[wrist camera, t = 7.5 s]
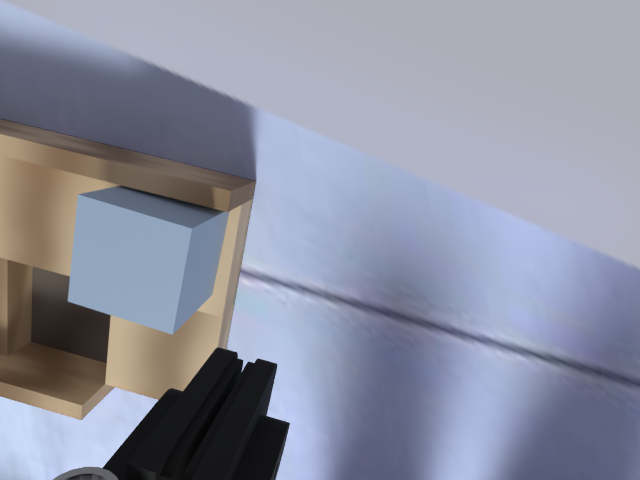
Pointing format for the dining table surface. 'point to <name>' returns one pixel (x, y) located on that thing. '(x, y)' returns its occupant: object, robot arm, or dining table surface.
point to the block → (144, 256)
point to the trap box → (55, 266)
